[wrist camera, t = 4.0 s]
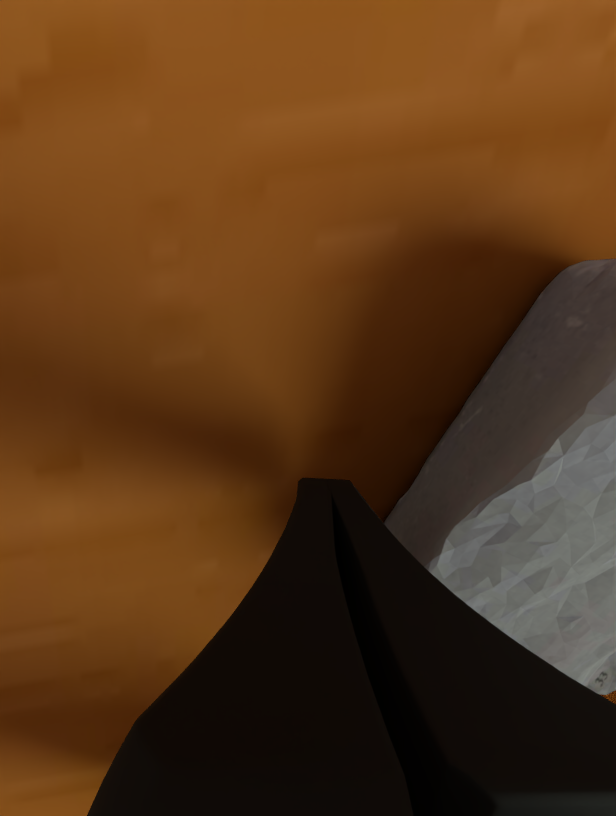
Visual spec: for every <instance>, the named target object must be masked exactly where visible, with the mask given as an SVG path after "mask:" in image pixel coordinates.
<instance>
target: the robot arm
mask: <svg viewBox="0 0 616 816" xmlns="http://www.w3.org/2000/svg"><path fill="white" fill-rule="evenodd" d="M87 816H616V704H614V703H612V702H611V701H609V700H607V699H606V698H604V697H602V696H601V695H599V694H597V693H596V692H594V691H592V690H591V689H589V688H587V687H586V686H584V685H582V684H581V683H579V682H577V681H576V680H574V679H572V678H570V677H569V676H567V675H566V674H564V673H563V672H561V671H560V670H558V669H557V668H555V667H554V666H552V665H551V664H549V663H548V662H546V661H545V660H543V659H542V658H540V657H539V656H537V655H536V654H534V653H533V652H531V651H530V650H528V649H527V648H525V647H524V646H522V645H521V644H519V643H518V642H516V641H515V640H514V639H512V638H511V637H509V636H508V635H507V634H505V633H504V632H502V631H501V630H500V629H498V628H497V627H496V626H494V625H493V624H492V623H490V622H489V621H488V620H487V619H485V618H484V617H483V616H481V615H480V614H479V613H477V612H476V611H475V610H474V609H472V608H471V607H470V606H468V605H467V604H466V603H465V602H463V601H462V600H461V599H460V598H459V597H457V596H456V595H455V594H454V593H453V592H452V591H450V590H449V589H448V588H447V587H446V586H445V585H444V584H442V583H441V582H440V581H439V580H438V579H437V578H436V577H435V576H433V575H432V574H431V573H430V572H429V571H428V570H427V569H426V568H425V567H424V566H423V565H422V564H421V563H420V562H419V561H418V560H417V559H416V558H415V557H414V556H413V555H412V554H411V553H410V552H409V551H408V550H407V549H406V548H405V547H404V546H403V545H402V544H401V543H400V542H399V541H398V539H397V538H396V537H395V536H394V535H393V534H392V533H391V531H390V530H389V529H388V528H387V527H386V526H385V524H384V523H383V522H382V521H381V520H380V519H379V517H378V516H377V515H376V514H375V512H374V511H373V510H372V509H371V507H370V506H369V505H368V504H367V502H366V501H365V500H364V498H363V497H362V496H361V494H360V493H359V492H358V490H357V489H356V488H355V487H354V485H353V484H352V483H351V482H350V480H337V479H318V478H302V479H301V480H299V481H298V489H297V497H296V501H295V504H294V507H293V510H292V512H291V515H290V517H289V520H288V522H287V525H286V527H285V529H284V532H283V534H282V536H281V538H280V540H279V541H278V543H277V545H276V547H275V549H274V551H273V553H272V555H271V557H270V558H269V560H268V562H267V564H266V565H265V567H264V569H263V570H262V572H261V573H260V575H259V577H258V578H257V580H256V581H255V583H254V584H253V586H252V587H251V589H250V590H249V592H248V593H247V594H246V596H245V597H244V599H243V600H242V601H241V603H240V604H239V606H238V607H237V608H236V610H235V611H234V612H233V614H232V615H231V616H230V618H229V619H228V620H227V621H226V623H225V624H224V625H223V626H222V628H221V629H220V630H219V631H218V632H217V633H216V635H215V636H214V637H213V638H212V639H211V641H210V642H209V643H208V644H207V645H206V646H205V648H204V649H203V650H202V651H201V652H200V654H199V655H198V656H197V657H196V658H195V659H194V660H193V662H192V663H191V664H190V665H189V666H188V667H187V668H186V669H185V670H184V671H183V672H182V673H181V675H180V676H179V677H178V678H177V679H176V680H175V681H174V682H173V683H172V684H171V685H170V686H169V687H168V688H167V689H166V690H165V691H164V692H163V693H162V694H161V695H160V696H159V697H158V698H157V699H156V700H155V701H154V702H153V703H152V704H151V705H150V706H149V707H148V708H147V709H146V710H145V711H144V712H143V713H142V714H141V715H140V716H139V718H138V719H137V720H136V721H135V723H134V724H133V726H132V728H131V730H130V731H129V733H128V735H127V737H126V738H125V740H124V742H123V744H122V746H121V747H120V749H119V751H118V753H117V755H116V756H115V758H114V760H113V762H112V764H111V766H110V768H109V770H108V772H107V774H106V776H105V778H104V780H103V782H102V784H101V786H100V788H99V790H98V792H97V795H96V797H95V799H94V801H93V803H92V806H91V808H90V810H89V812H88V815H87Z"/></svg>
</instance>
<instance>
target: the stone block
mask: <svg viewBox="0 0 616 816" xmlns="http://www.w3.org/2000/svg"><path fill="white" fill-rule="evenodd" d="M384 524H385V526H386V527H387V528H388V529H389V530H390V531H391V533H392V534H393V535H394V536H395V537H396V538H397V539H398V541H399V542H400V543H401V544H402V545H403V546H404V547H405V548H406V549H407V550H408V551H409V552H410V553H411V554H412V555H413V556H414V557H415V558H416V559H417V560H418V561H419V562H420V563H421V564H422V565H423V566H424V567H425V568H426V569H427V570H428V571H429V572H430V573H431V574H432V575H433V576H435V577H436V578H437V579H438V580H439V581H440V582H441V583H442V584H444V585H445V586H446V587H447V588H448V589H449V590H450V591H452V592H453V593H454V594H455V595H456V596H457V597H459V598H460V599H461V600H462V601H463V602H465V603H466V604H467V605H468V606H470V607H471V608H472V609H474V610H475V611H476V612H477V613H479V614H480V615H481V616H483V617H484V618H485V619H487V620H488V621H489V622H490V623H492V624H493V625H494V626H496V627H497V628H498V629H500V630H501V631H502V632H504V633H505V634H507V635H508V636H509V637H511V638H512V639H514V640H515V641H516V642H518V643H519V644H521V645H522V646H524V647H525V648H527V649H528V650H530V651H531V652H533V653H534V654H536V655H537V656H539V657H540V658H542V659H543V660H545V661H546V662H548V663H549V664H551V665H552V666H554V667H555V668H557V669H558V670H560V671H561V672H563V673H564V674H566V675H567V676H569V677H570V678H572V679H574V680H576V681H577V682H579V683H581V684H582V685H584V686H586V687H587V688H589V689H591V690H592V691H594V692H596V693H597V694H602V695H607V694H609V693H611V692H613V691H615V690H616V259H605V260H589V261H583V262H580V263H577V264H574V265H572V266H569V267H567V268H566V269H564V270H563V271H561V272H560V273H559V274H558V275H557V276H556V277H555V278H554V279H553V280H552V281H551V282H550V284H549V285H548V286H547V287H546V288H545V289H544V290H543V292H542V293H541V294H540V295H539V297H538V298H537V300H536V301H535V303H534V304H533V306H532V307H531V309H530V310H529V312H528V313H527V315H526V316H525V318H524V319H523V320H522V322H521V323H520V325H519V326H518V328H517V329H516V330H515V332H514V333H513V335H512V336H511V337H510V339H509V340H508V341H507V343H506V344H505V346H504V347H503V349H502V350H501V351H500V353H499V354H498V356H497V357H496V359H495V360H494V362H493V363H492V365H491V366H490V368H489V369H488V371H487V372H486V373H485V375H484V376H483V378H482V379H481V381H480V382H479V384H478V385H477V386H476V388H475V389H474V391H473V392H472V393H471V395H470V396H469V398H468V399H467V401H466V402H465V404H464V406H463V408H462V409H461V411H460V413H459V414H458V416H457V417H456V418H455V420H454V421H453V422H452V424H451V425H450V426H449V428H448V429H447V431H446V432H445V434H444V435H443V437H442V438H441V440H440V441H439V443H438V444H437V446H436V447H435V448H434V450H433V451H432V452H431V454H430V455H429V457H428V458H427V460H426V462H425V463H424V465H423V467H422V469H421V471H420V472H419V474H418V476H417V477H416V479H415V481H414V482H413V484H412V486H411V487H410V489H409V490H408V491H407V492H406V494H405V495H404V496H403V497H401V498H400V499H399V501H398V502H397V504H396V505H395V507H394V509H393V510H392V512H391V513H390V514H389V516H388V517H387V519H386V520H385V522H384Z"/></svg>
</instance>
